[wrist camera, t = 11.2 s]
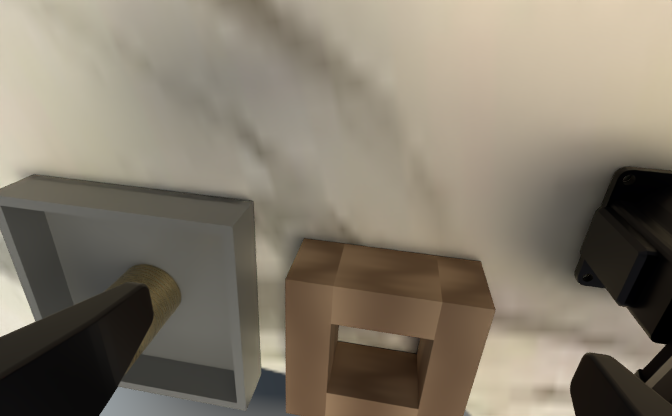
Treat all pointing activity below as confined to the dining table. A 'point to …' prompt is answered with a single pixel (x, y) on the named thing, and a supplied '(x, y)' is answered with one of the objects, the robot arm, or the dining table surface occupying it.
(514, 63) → the dining table surface
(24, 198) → the charcoal tray
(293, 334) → the walnut block
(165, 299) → the brass pin
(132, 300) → the robot arm
